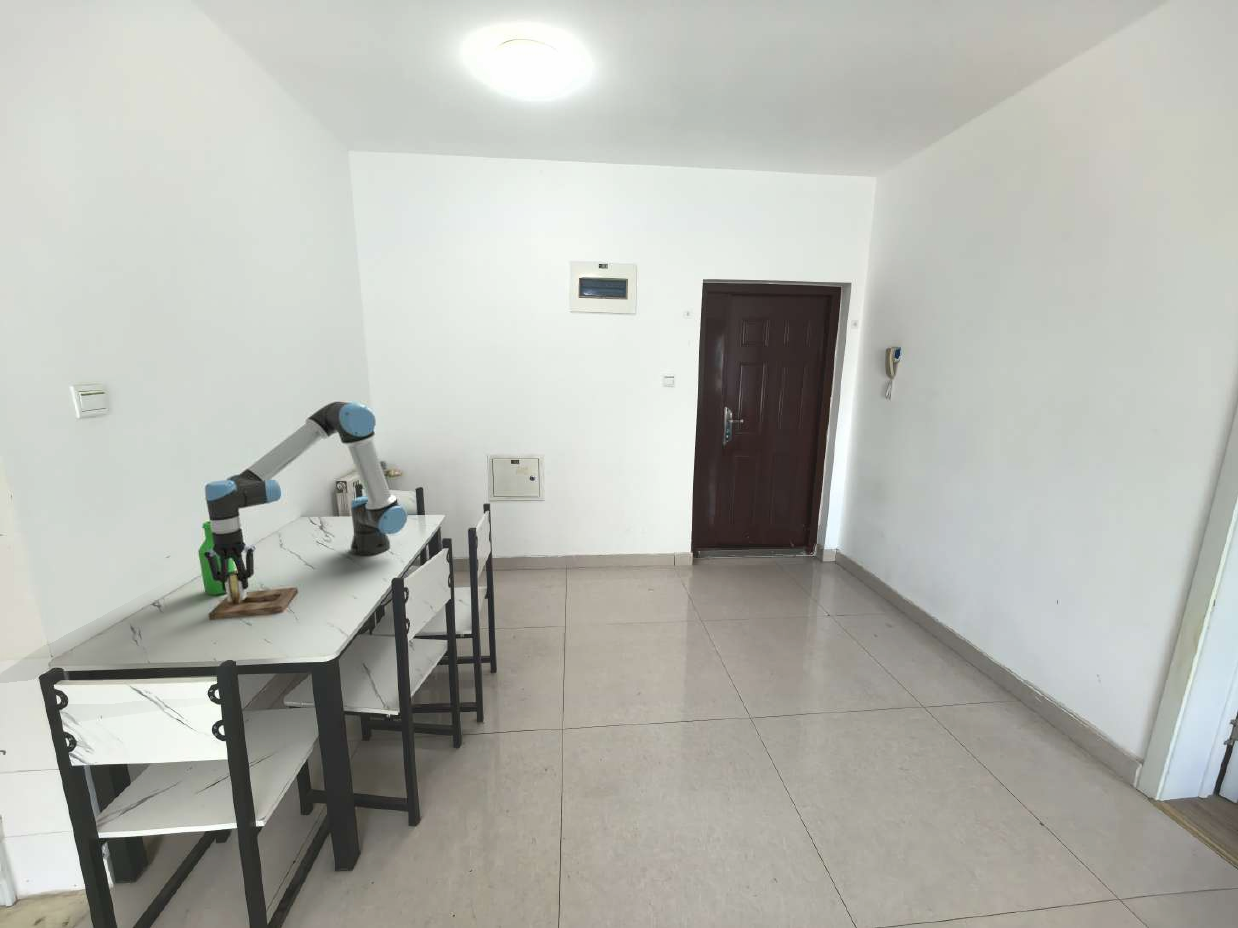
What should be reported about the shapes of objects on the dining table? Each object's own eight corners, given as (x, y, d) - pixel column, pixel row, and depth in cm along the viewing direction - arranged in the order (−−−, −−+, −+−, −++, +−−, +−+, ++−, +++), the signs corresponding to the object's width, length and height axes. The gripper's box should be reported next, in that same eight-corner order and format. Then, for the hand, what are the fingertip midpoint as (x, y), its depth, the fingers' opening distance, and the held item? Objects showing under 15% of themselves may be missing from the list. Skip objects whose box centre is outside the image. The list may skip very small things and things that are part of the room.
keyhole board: (297, 592, 174) (297, 587, 174) (282, 611, 161) (282, 606, 161) (230, 598, 169) (229, 593, 169) (209, 619, 156) (208, 613, 156)
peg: (246, 604, 166) (241, 570, 163) (241, 608, 163) (236, 574, 160) (237, 604, 165) (231, 570, 163) (231, 609, 163) (225, 574, 160)
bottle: (202, 598, 170) (190, 527, 164) (208, 587, 177) (197, 520, 172) (234, 593, 174) (223, 524, 168) (239, 583, 181) (229, 516, 176)
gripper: (260, 524, 164) (270, 590, 169) (203, 527, 160) (214, 596, 165) (250, 531, 157) (260, 601, 162) (190, 535, 153) (202, 606, 158)
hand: (237, 598), depth 163 cm, fingers closed on peg, 3 cm apart
